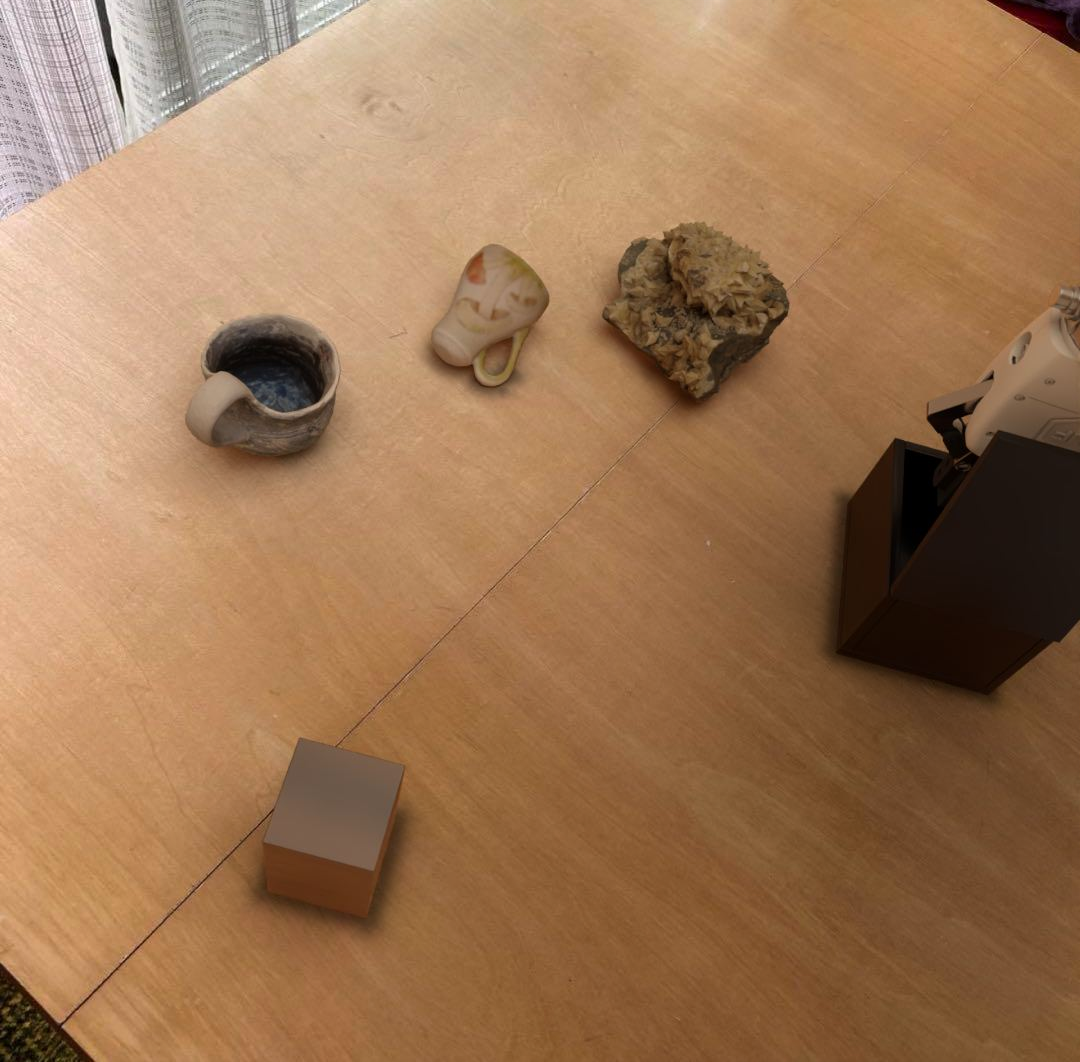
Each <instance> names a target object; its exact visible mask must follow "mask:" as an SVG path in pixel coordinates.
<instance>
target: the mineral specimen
mask: <svg viewBox="0 0 1080 1062" xmlns="http://www.w3.org/2000/svg"><path fill="white" fill-rule="evenodd" d="M723 233H724V230H715V228H714V225H711V226H708V225H707V223H706V221H701V222H700V221H695V222H694V223H693V222H689V223H688V222H683V223H682V222H679V223H678V226H676V227H674V228H671V229H670V230H662V234H663V239H658V238H656V237H654V236H653V237H651V238H647V237H645V236H641V237H638V238H635V239H633V240H631V241H630V245H629V246H628V247H627V248H626V250H625V252H624V253H623V255H622V256H621V258H620V261H619V263H618V267H617V268H618V270H617V280H618V284H619V287H620V292H621V294H620V295H619V297H618V298H616V299H615V300H612V301H611V302H610V303H608V304H606V305H605V307H604V308H603V310H602V313H601V314H602V315H601V318H602V319H603V320H604V321H606V323H608V324H609V325H610V326H611V327H613V328H614V329H616V330H619V331H620V332H621V333H622V334H623V335H624V336H625V337H627V339H628V340H630V342H632V344H633V345H634V346H635V347H636V349H637V350H638V351H641V352H642V353H644V354H646V355H648V356H649V358H651V360H652V361H653V362H654V365H655V369H657V370H658V371H659V372H661V374H662V375H663V376H664V377H665V378H666V379H668V380H671V381H673V382H675V383H676V384H677V385H678V387H679V388H680V389H681V390H682V391H683V392H684V393H685V394H686V395H688V396H690V397H691V398H692V399H693V400H694V401H695V403H696V404H699V403H703V402H706V401H708V400H709V399H710V398H711V397H712V396H714V395H716V394H718V393H719V392H720V389H721V385H722V384H724V383H725V382H726V381H727V380H728V379H730V378H731V376H732V373H733V371H735V370H736V369H737V368H738V367H739V366H740V365H741V364H746V363H750V361H752V360H753V359H754V358H755V357H756V356H757V355H758V354H760V352H761V351H762V350H763V349H764V348H765V347H767V346H768V345H769V344H770V338H771V336H772V334H773V333H774V331H775V330H776V329H777V327H779V326H780V325H781V324H782V323H783V322H784V320H785V319H786V318H787V317H788V315H789V310H790V303H791V302H790V300H789V298H788V296H787V289H785V287H784V284H785V283H784V282H783V281H781V280H779V279H778V278H777V277H776V276H774V275H773V274H774V272H772V270H769V268H771V265H770V263H769V262H766V261H764V260H762V259H760V258H761V253H762V250H757V251H756V252H755V251H754V250H753V249H752V248H750V247H749V245H748V244H747V243H746V244H745V246H744V247H743V246H742V245H740V243H739V242H736V241H735V240H733V236H732V235H730V236H727V235H725V234H723Z"/></svg>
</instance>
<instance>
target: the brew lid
mask: <svg viewBox="0 0 1080 1062" xmlns="http://www.w3.org/2000/svg"><path fill="white" fill-rule="evenodd" d="M890 594H891V597H894V598H898V599H901V600H905V601H909V602H912V603H916V604H920V605H923V606H927V607H931V608H934V609H938V610H941V611H945V612H949V613H952V614H956V615H960V616H963V617H967V618H970V619H974V620H978V621H981V622H985V623H989V624H992V625H996V626H1000V627H1003V628H1007V629H1010V630H1014V631H1018V632H1021V633H1025V634H1029V635H1032V636H1036V637H1040V638H1043V639H1047V640H1050V641H1054V642H1055V643H1057V644H1060V643H1061V642H1062V641H1063V639H1064V638H1065V637H1067V635H1068V634H1069V633H1070V632H1071V631H1072V630H1073V628H1074V627H1075V626H1076V625H1077V624H1078V623H1079V622H1080V452H1076V451H1073V450H1069V449H1066V448H1062V447H1059V446H1055V445H1052V444H1048V443H1044V442H1041V441H1037V440H1034V439H1030V438H1027V437H1023V436H1019V435H1016V434H1012V433H1009V432H1005V431H1002V430H997V432H996V433H995V435H994V436H993V438H992V439H991V441H990V442H989V444H988V445H987V447H986V448H985V450H984V451H983V452H982V454H981V455H980V457H979V458H978V460H977V461H976V463H975V464H974V466H973V467H972V469H971V470H970V472H969V473H968V474H967V476H966V477H965V479H964V480H963V482H962V483H961V485H960V486H959V488H958V489H957V491H956V492H955V494H954V495H953V496H952V498H951V499H950V501H949V502H948V504H947V505H946V507H945V508H944V510H943V511H942V513H941V514H940V516H939V517H938V518H937V520H936V521H935V523H934V524H933V526H932V527H931V529H930V530H929V532H928V533H927V535H926V536H925V538H924V539H923V540H922V542H921V543H920V545H919V546H918V548H917V549H916V551H915V552H914V554H913V555H912V557H911V558H910V560H909V561H908V562H907V564H906V565H905V567H904V568H903V570H902V571H901V573H900V574H899V576H898V577H897V579H896V580H895V582H894V583H893V584H892V586H891V587H890ZM1054 642H1053V643H1054Z"/></svg>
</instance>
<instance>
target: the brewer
mask: <svg viewBox="0 0 1080 1062" xmlns="http://www.w3.org/2000/svg"><path fill="white" fill-rule="evenodd" d="M948 453H949V452H948V451H944V450H940V449H939V448H938V449H937V448H934V447H930V446H926V445H923V444H919V443H916V442H912V441H909V440H905V439H903V438H898V437H894V439H893V440H892V441H891V443H890V444H889V445H888V447H886V449H885V451H884V452H883V454H882V455H881V456H880V458H879V460H878V461H877V462H876V464H875V465H874V466H873V467H872V469H871V471H870V472H869V473H868V474H867V476H866V477H865V479H864V480H863V482H862V483H861V484H860V486H859V487H858V488H857V490H856V491H855V493H853V495H852V497H851V498H850V499H849V501H848V502H847V511H846V521H845V523H846V524H845V537H844V538H845V539H844V548H843V563H842V576H841V588H840V600H839V601H840V603H839V614H838V616H839V617H838V630H837V641H836V654H838V655H842V656H846V657H849V658H853V659H856V660H861V661H864V662H868V663H871V664H874V665H879V666H883V667H886V668H889V669H893V670H897V671H901V672H905V673H909V674H911V675H915V676H919V677H923V678H926V679H930V680H934V681H937V682H940V683H941V682H942V683H945V684H949V685H952V686H955V687H959V688H963V689H967V690H970V691H974V692H977V693H980V694H984V695H991V694H992V693H994V691H996V690H997V689H998V688H999V687H1000V686H1001V685H1003V684H1004V683H1006V681H1008V680H1009V679H1010V678H1011V677H1012V676H1014V675H1015V674H1017V673H1018V672H1019V671H1020V670H1021V669H1022V668H1024V667H1025V666H1026V665H1027V664H1029V663H1030V662H1031V661H1032V660H1033V659H1035V658H1036V657H1037V656H1038V655H1039V654H1041V653H1042V652H1043V651H1044V650H1046V649H1047V648H1048V647H1049V646H1051V645H1052V644H1053V643H1054V641H1050V640H1047V639H1043V638H1040V637H1036V636H1032V635H1029V634H1025V633H1021V632H1018V631H1014V630H1010V629H1007V628H1003V627H1000V626H996V625H992V624H989V623H985V622H981V621H978V620H974V619H970V618H967V617H963V616H960V615H956V614H952V613H949V612H945V611H941V610H938V609H934V608H931V607H927V606H923V605H920V604H916V603H912V602H909V601H905V600H901V599H898V598H894V597H891V594H890V587H891V586H892V584H893V583H894V582H895V580H896V579H897V577H898V576H899V574H900V573H901V571H902V570H903V568H904V567H905V565H906V564H907V562H908V561H909V560H910V558H911V557H912V555H913V554H914V552H915V551H916V549H917V548H918V546H919V545H920V543H921V542H922V540H923V539H924V538H925V536H926V535H927V533H928V532H929V530H930V529H931V527H932V526H933V524H934V523H935V521H936V520H937V518H938V517H939V516H940V514H941V513H942V511H943V510H944V508H942V507H938V506H937V487H934V486H933V476H934V472H935V470H936V468H937V467H938V465H939V464H940V463H941V462H942V460H943V459H944V458H945V457H946V455H947V454H948Z"/></svg>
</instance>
